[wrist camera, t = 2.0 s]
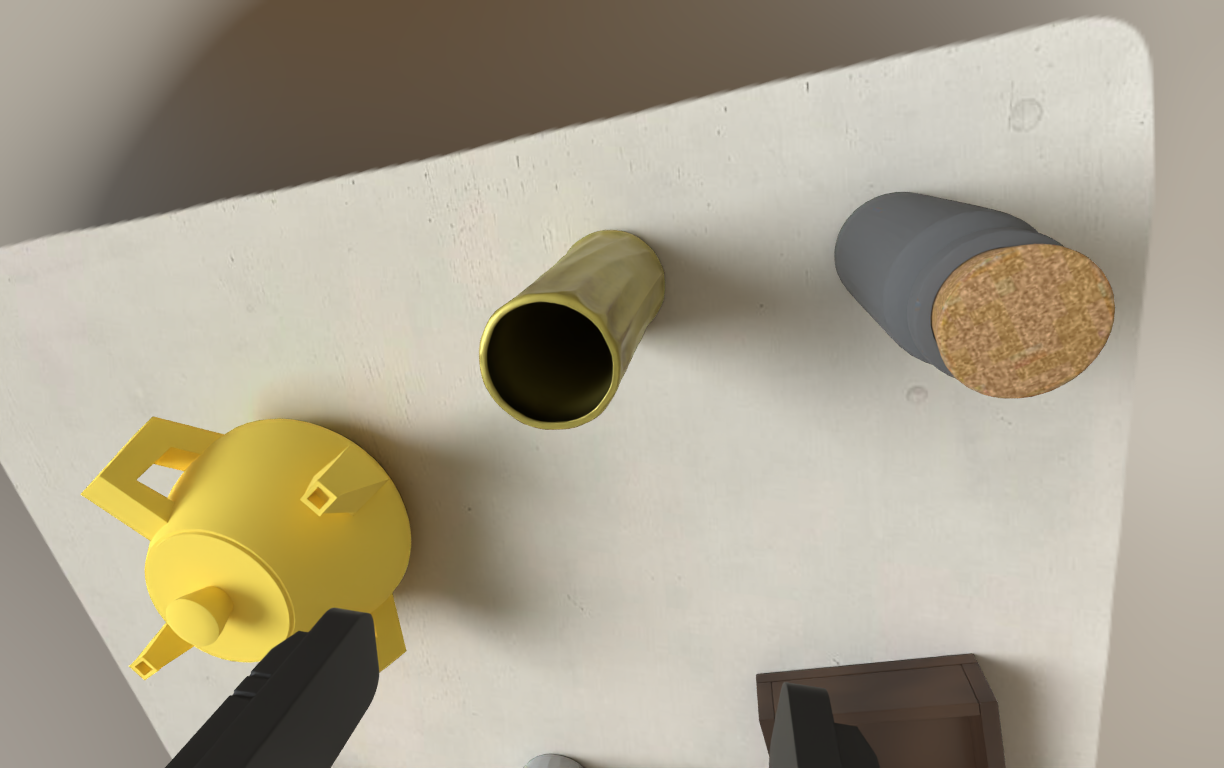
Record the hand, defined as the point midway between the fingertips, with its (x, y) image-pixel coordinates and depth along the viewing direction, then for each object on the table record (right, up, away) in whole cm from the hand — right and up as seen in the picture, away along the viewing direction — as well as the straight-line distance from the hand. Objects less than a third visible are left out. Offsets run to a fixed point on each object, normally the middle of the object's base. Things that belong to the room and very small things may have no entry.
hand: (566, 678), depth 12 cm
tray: (+20, -20, +32) cm, 42 cm away
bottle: (+15, +13, +20) cm, 28 cm away
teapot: (-20, -3, +32) cm, 38 cm away
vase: (+1, +11, +23) cm, 26 cm away
